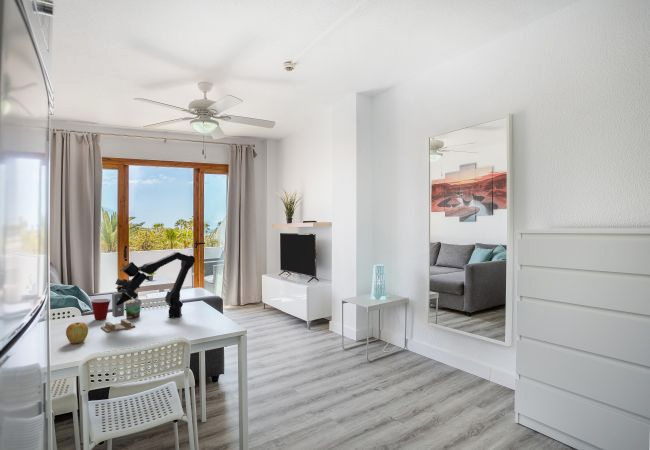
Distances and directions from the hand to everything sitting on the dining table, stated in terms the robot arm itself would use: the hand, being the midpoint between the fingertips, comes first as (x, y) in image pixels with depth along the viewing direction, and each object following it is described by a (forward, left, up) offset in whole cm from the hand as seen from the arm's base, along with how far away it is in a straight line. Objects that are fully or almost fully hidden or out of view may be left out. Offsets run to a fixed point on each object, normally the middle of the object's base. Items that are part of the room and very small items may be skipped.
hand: (115, 304), depth 206 cm
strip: (-1, -1, -7) cm, 7 cm away
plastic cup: (+18, -20, -14) cm, 30 cm away
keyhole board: (-1, -1, -13) cm, 13 cm away
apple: (+7, +23, -14) cm, 28 cm away
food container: (-1, -23, -14) cm, 27 cm away
